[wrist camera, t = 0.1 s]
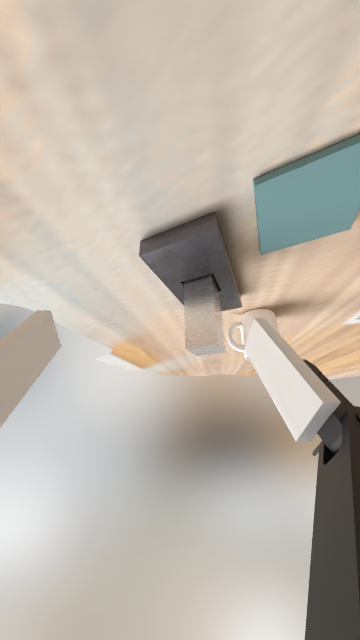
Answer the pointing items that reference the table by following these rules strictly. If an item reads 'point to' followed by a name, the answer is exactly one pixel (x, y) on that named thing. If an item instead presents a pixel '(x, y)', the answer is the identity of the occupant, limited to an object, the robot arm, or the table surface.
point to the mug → (249, 327)
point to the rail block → (192, 258)
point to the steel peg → (203, 316)
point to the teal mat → (309, 197)
